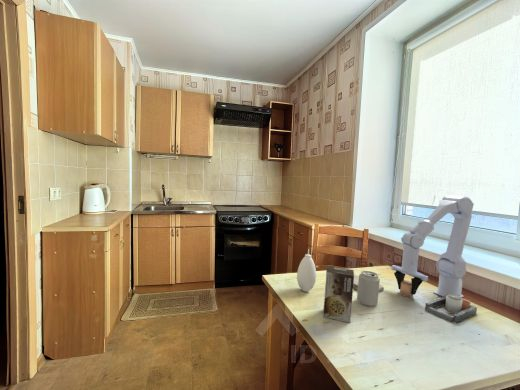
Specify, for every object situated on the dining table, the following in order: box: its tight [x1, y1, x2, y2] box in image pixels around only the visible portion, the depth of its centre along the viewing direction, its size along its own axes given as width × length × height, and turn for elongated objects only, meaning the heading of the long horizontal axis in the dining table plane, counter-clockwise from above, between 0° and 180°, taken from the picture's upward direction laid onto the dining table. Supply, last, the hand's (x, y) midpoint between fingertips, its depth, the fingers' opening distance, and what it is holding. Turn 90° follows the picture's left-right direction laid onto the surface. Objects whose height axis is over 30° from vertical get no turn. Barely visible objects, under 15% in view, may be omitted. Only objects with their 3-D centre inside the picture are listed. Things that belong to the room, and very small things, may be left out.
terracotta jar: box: [399, 279, 414, 298], centre depth 110 cm, size 5×5×6 cm
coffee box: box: [322, 265, 355, 324], centre depth 88 cm, size 9×6×16 cm
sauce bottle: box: [296, 248, 317, 293], centre depth 107 cm, size 8×8×18 cm
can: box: [356, 270, 381, 308], centre depth 99 cm, size 8×8×12 cm
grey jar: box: [444, 294, 463, 314], centre depth 98 cm, size 5×5×6 cm
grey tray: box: [424, 296, 478, 324], centre depth 97 cm, size 17×10×2 cm, turn 120°
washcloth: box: [353, 273, 385, 293], centre depth 117 cm, size 12×18×3 cm, turn 35°
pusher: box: [447, 293, 471, 311], centre depth 100 cm, size 2×7×4 cm, turn 30°
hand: (406, 291), depth 110 cm, fingers closed on terracotta jar, 5 cm apart
